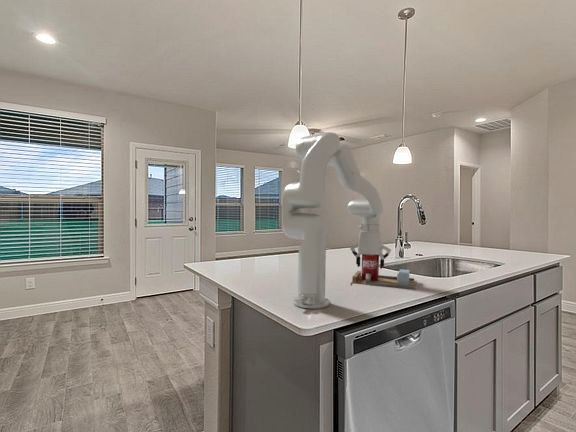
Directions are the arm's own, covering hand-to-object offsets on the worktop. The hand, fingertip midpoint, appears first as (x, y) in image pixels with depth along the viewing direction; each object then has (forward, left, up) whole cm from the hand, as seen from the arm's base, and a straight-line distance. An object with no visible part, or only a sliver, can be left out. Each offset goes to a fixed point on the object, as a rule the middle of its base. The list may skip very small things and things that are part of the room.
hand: (369, 267), depth 139 cm
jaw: (0, -14, -6) cm, 15 cm away
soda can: (0, 0, -6) cm, 6 cm away
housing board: (0, -6, -7) cm, 9 cm away
